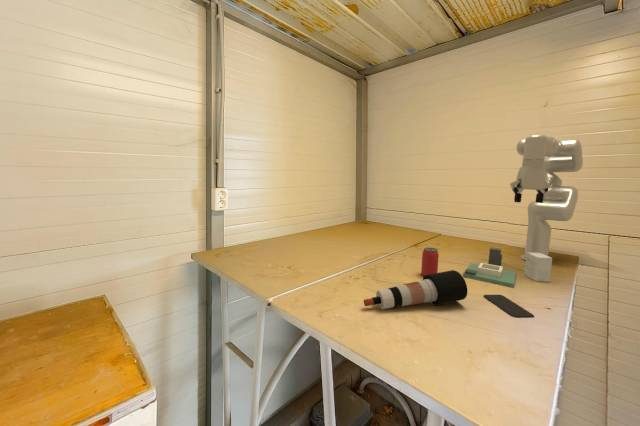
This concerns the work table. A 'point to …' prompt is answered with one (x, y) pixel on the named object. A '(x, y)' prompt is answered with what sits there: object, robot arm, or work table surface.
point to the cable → (423, 291)
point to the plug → (495, 256)
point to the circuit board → (505, 279)
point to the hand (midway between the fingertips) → (528, 202)
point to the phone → (508, 306)
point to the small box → (538, 267)
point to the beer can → (429, 261)
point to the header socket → (490, 270)
